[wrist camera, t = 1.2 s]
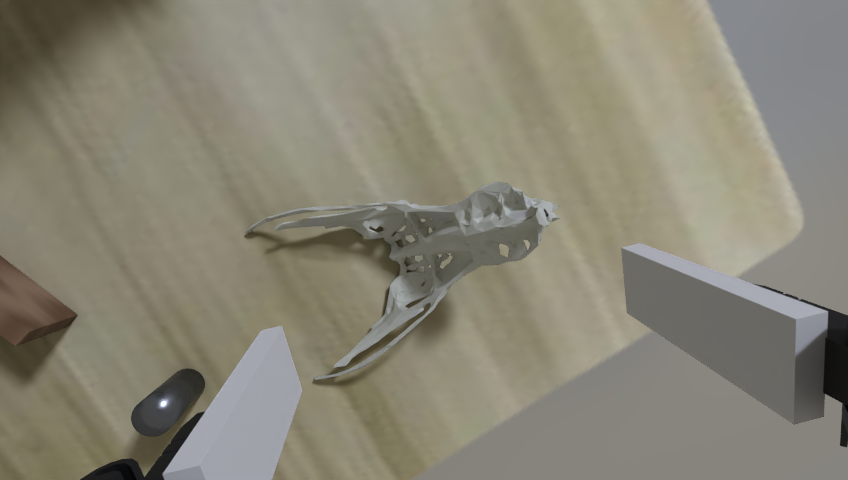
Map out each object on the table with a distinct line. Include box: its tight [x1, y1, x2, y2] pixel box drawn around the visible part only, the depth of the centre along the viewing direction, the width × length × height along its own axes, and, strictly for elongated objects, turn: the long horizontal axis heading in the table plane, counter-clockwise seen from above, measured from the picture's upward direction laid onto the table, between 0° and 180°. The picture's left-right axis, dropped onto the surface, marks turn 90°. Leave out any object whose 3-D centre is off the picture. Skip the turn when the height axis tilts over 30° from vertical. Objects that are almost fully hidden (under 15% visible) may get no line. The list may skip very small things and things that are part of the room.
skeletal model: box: [246, 182, 560, 380], centre depth 33 cm, size 16×9×25 cm
